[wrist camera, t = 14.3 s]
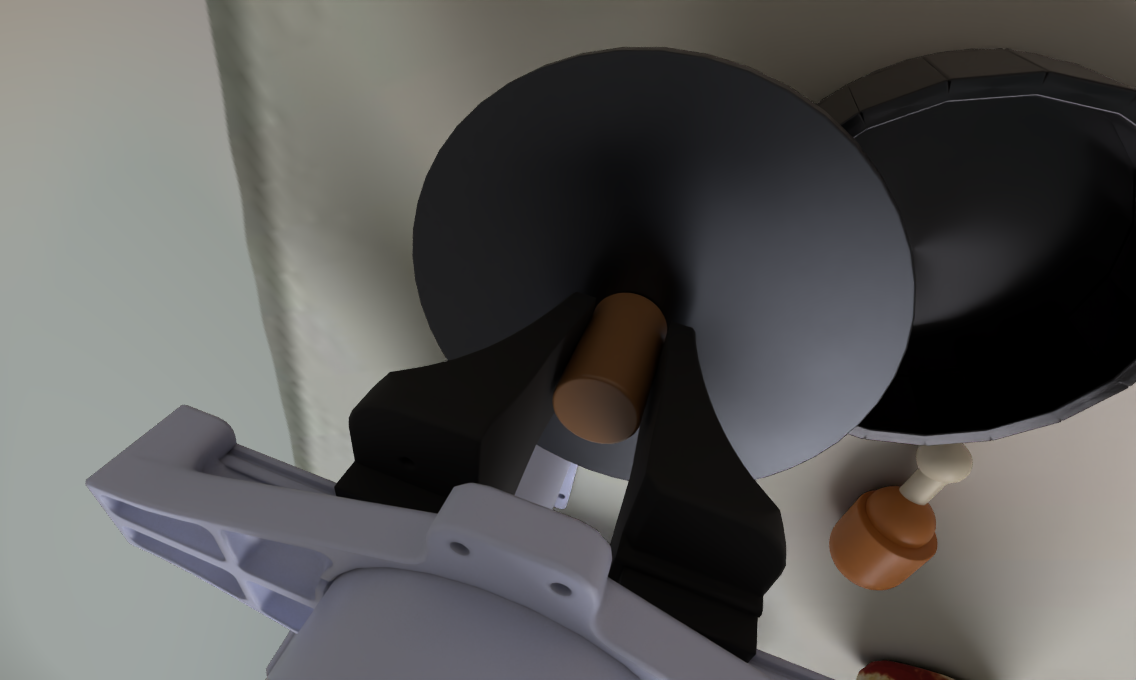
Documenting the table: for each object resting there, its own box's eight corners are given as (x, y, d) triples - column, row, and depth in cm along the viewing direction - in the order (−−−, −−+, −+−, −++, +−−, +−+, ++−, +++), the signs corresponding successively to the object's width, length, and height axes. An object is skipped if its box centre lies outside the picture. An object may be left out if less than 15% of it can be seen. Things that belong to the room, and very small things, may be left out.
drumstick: (883, 551, 30) (892, 615, 27) (815, 525, 31) (817, 585, 28) (997, 443, 24) (1023, 512, 21) (909, 414, 25) (923, 476, 22)
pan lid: (776, 513, 20) (775, 646, 16) (432, 390, 22) (361, 483, 18) (1054, 127, 11) (1196, 228, 7) (423, -17, 13) (277, 2, 9)
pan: (981, 417, 23) (1011, 488, 20) (690, 325, 25) (678, 378, 22) (1284, 107, 15) (1410, 151, 12) (815, 4, 17) (822, 19, 14)
